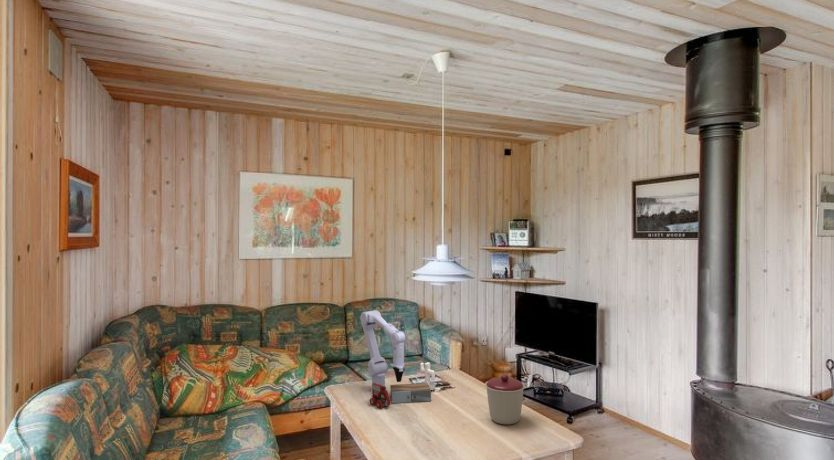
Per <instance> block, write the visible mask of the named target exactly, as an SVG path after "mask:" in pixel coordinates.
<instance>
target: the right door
mask: <svg viewBox="0 0 834 460" xmlns="http://www.w3.org/2000/svg"><path fill="white" fill-rule="evenodd" d="M399 403H400V404H401V403H412V402H411V391H396V392H392V401H391V404H399Z"/></svg>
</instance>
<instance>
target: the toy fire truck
mask: <svg viewBox="0 0 834 460" xmlns="http://www.w3.org/2000/svg"><path fill="white" fill-rule="evenodd" d="M371 388H372V394H371V397H370V398H369V405H370V406H371V407H376V408H377V409H378V410H380V409H381V410H382V408H383V406H385V407H389V406H391V404H392V401H391V397H390V395H389V392H388V390H387V387H386V385H385V386H382V385H379V384H376V383H373V384H372V383H371Z"/></svg>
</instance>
